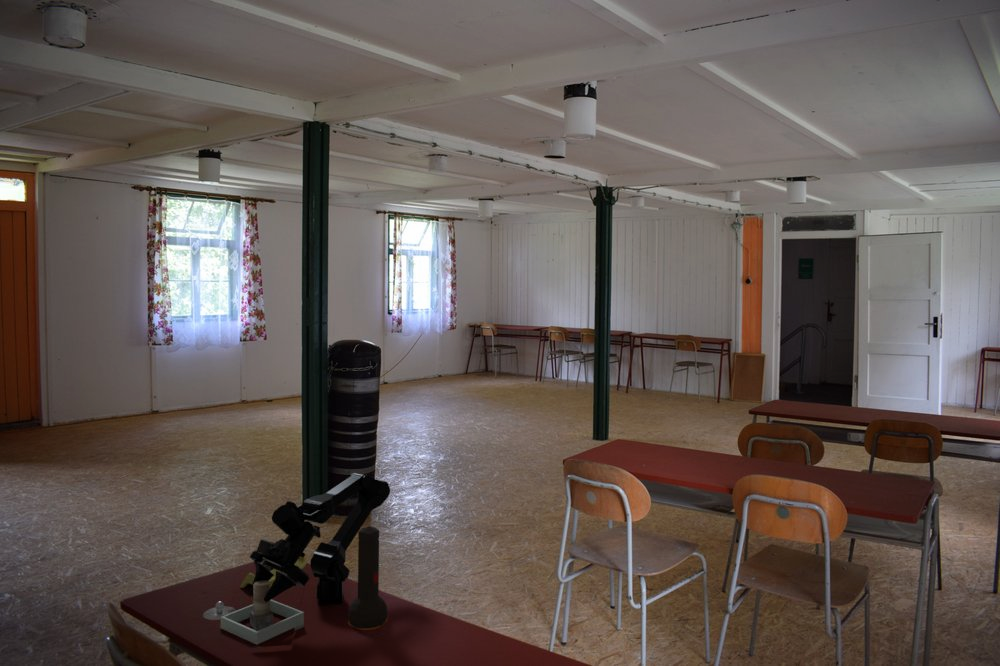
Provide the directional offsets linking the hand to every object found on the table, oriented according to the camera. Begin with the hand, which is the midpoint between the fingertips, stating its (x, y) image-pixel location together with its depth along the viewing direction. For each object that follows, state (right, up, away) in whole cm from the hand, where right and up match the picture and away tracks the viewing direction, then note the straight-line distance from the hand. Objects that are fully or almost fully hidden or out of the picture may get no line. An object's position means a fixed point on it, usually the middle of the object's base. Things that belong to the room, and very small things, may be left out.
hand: (257, 597), depth 180 cm
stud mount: (-13, -8, +8) cm, 17 cm away
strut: (+1, -8, +1) cm, 8 cm away
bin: (+1, -8, +2) cm, 9 cm away
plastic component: (-5, -7, +32) cm, 33 cm away
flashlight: (+26, -9, +8) cm, 29 cm away
